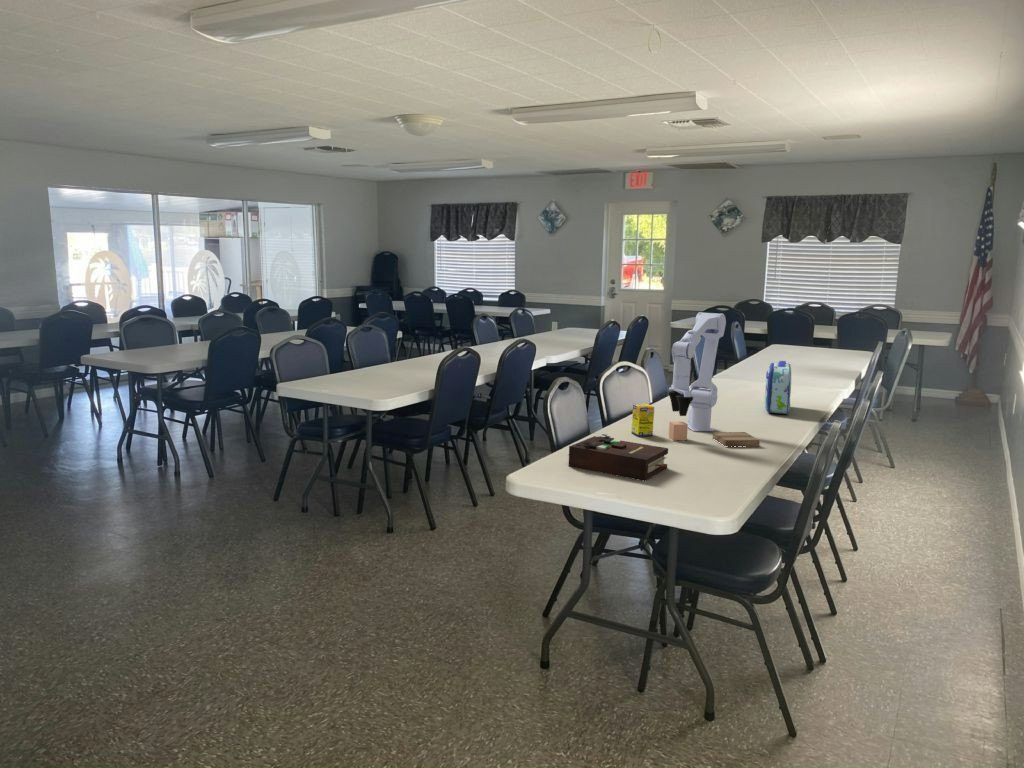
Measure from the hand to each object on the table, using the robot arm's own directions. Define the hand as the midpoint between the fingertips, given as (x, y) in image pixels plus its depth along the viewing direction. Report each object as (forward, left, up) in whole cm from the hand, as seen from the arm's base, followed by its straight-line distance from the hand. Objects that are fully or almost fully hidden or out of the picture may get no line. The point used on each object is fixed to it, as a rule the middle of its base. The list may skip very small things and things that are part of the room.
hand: (679, 413), depth 268 cm
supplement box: (-7, -11, -10) cm, 16 cm away
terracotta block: (0, 0, -10) cm, 10 cm away
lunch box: (-50, +61, -10) cm, 80 cm away
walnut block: (+6, +19, -10) cm, 22 cm away
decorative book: (+35, -31, -10) cm, 48 cm away
